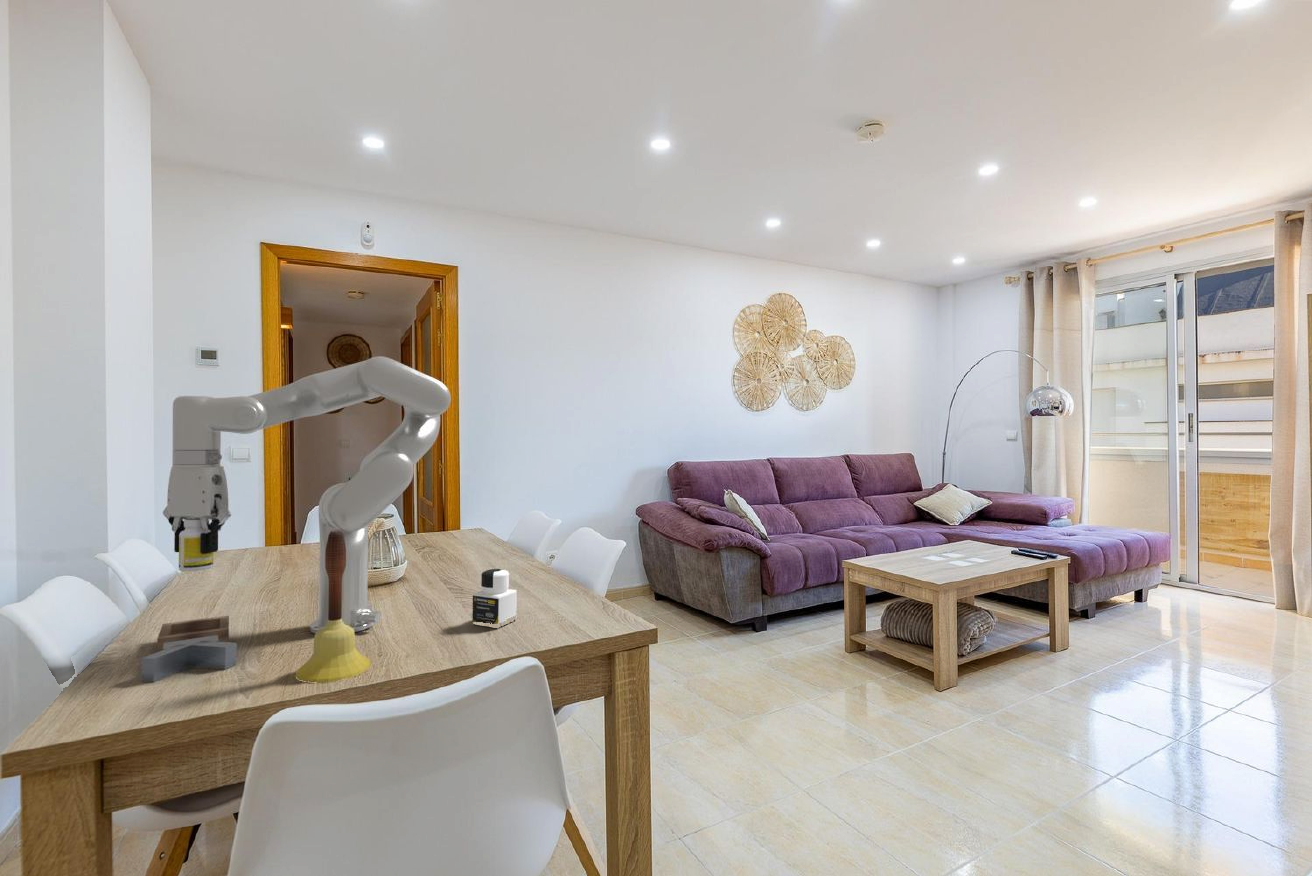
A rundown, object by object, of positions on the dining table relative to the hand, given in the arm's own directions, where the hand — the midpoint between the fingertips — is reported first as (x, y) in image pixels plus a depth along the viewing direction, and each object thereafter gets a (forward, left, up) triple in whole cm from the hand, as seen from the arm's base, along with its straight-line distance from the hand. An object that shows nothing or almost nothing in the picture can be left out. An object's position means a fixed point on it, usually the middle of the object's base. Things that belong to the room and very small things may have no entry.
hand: (196, 550), depth 119 cm
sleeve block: (+3, -3, -19) cm, 20 cm away
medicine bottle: (-49, -29, -19) cm, 60 cm away
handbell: (-33, +3, -19) cm, 39 cm away
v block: (-8, +8, -19) cm, 23 cm away
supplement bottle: (0, 0, -4) cm, 4 cm away
